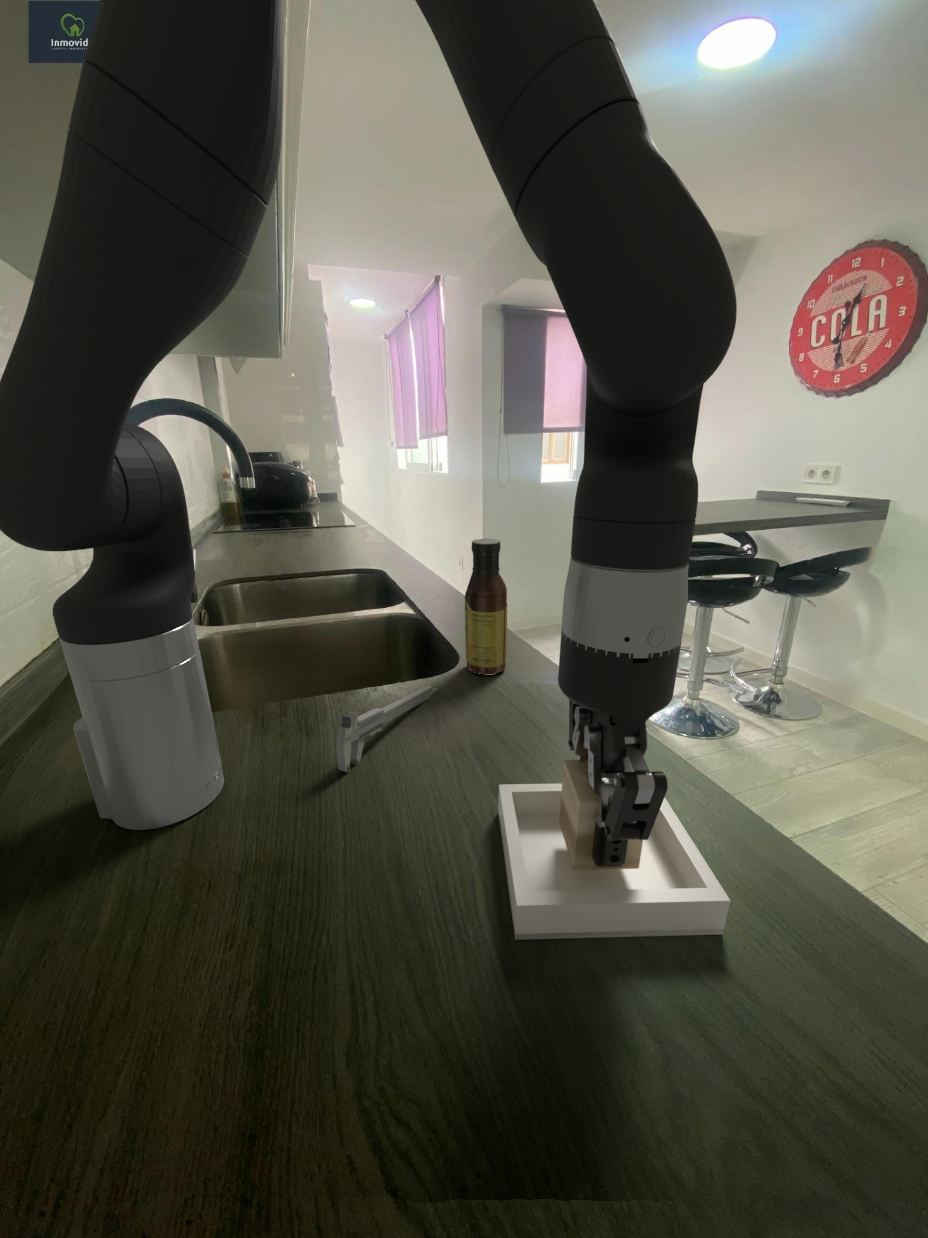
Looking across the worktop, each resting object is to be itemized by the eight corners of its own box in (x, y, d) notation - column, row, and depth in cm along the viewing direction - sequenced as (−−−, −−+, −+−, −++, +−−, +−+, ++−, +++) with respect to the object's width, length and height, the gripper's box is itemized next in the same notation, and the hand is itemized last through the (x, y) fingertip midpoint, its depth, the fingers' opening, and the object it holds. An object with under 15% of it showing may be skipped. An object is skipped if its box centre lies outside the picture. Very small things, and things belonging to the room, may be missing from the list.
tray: (515, 939, 31) (516, 905, 30) (498, 812, 43) (499, 784, 42) (722, 934, 32) (730, 900, 31) (650, 809, 43) (654, 782, 42)
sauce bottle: (480, 657, 76) (481, 535, 70) (513, 667, 73) (518, 539, 67) (456, 671, 71) (455, 540, 65) (491, 682, 68) (494, 545, 61)
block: (573, 870, 34) (580, 800, 32) (559, 822, 39) (564, 758, 37) (638, 868, 34) (649, 799, 32) (616, 821, 39) (624, 757, 37)
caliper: (347, 777, 48) (342, 723, 46) (338, 774, 48) (333, 721, 46) (437, 692, 65) (436, 650, 64) (430, 690, 66) (429, 649, 64)
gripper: (542, 597, 37) (533, 777, 43) (595, 674, 24) (571, 923, 29) (635, 597, 38) (614, 776, 43) (739, 673, 24) (689, 920, 29)
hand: (597, 834), depth 36 cm, fingers closed on block, 4 cm apart
